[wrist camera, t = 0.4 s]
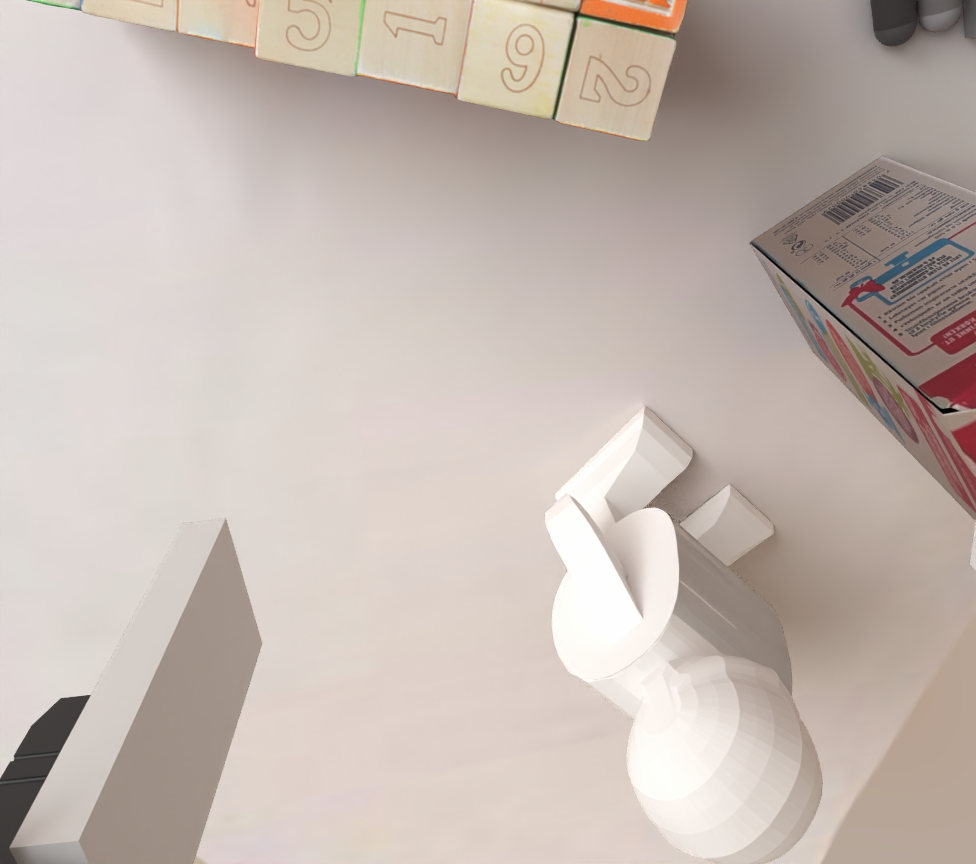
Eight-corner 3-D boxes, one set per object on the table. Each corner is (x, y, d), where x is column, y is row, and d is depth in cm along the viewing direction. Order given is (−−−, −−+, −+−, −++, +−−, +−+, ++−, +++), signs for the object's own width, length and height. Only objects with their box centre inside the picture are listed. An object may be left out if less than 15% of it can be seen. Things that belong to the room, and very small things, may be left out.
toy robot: (794, 543, 49) (986, 867, 31) (670, 640, 51) (779, 990, 33) (619, 381, 44) (724, 649, 26) (494, 497, 47) (510, 811, 29)
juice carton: (882, 156, 40) (1294, 318, 20) (941, 275, 42) (1360, 525, 22) (749, 242, 41) (1010, 472, 22) (813, 353, 44) (1100, 650, 24)
